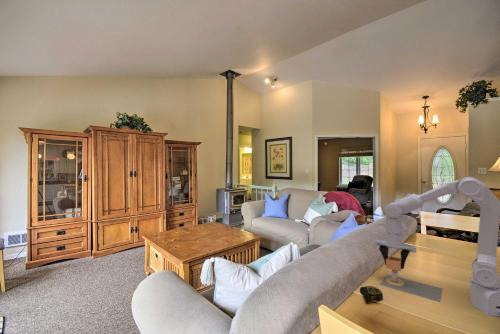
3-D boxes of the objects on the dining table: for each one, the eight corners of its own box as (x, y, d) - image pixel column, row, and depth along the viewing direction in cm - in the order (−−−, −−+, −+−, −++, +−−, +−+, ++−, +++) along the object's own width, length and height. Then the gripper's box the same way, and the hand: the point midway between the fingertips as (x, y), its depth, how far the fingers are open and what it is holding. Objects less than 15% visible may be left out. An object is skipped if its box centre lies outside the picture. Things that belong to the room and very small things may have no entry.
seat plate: (443, 291, 92) (442, 287, 92) (440, 305, 83) (439, 301, 83) (387, 276, 105) (387, 273, 105) (379, 287, 96) (379, 283, 96)
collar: (403, 267, 98) (402, 258, 98) (400, 271, 94) (400, 262, 94) (389, 264, 101) (389, 255, 101) (386, 268, 98) (385, 259, 97)
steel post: (399, 286, 96) (398, 271, 96) (393, 286, 97) (392, 271, 97) (396, 284, 99) (396, 269, 99) (390, 283, 99) (390, 269, 99)
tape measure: (359, 294, 92) (359, 284, 92) (378, 295, 91) (378, 285, 90) (364, 304, 85) (364, 294, 85) (385, 306, 84) (385, 295, 84)
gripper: (417, 233, 96) (417, 267, 96) (377, 227, 105) (377, 258, 106) (414, 237, 90) (414, 274, 91) (372, 231, 100) (372, 263, 100)
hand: (394, 266), depth 98 cm, fingers closed on collar, 5 cm apart
